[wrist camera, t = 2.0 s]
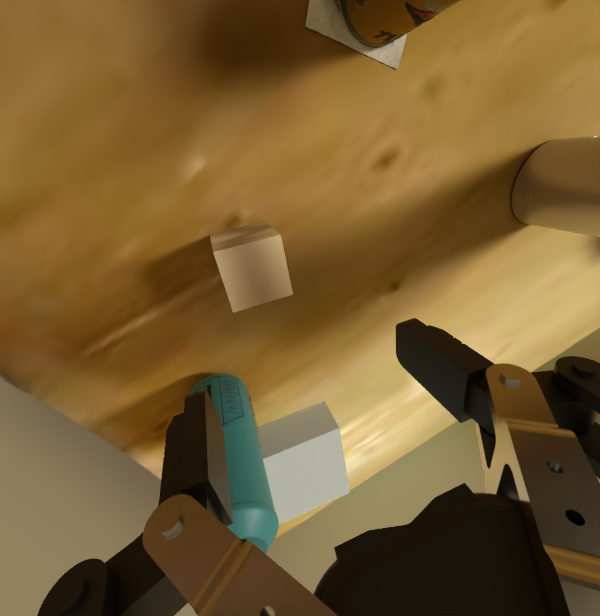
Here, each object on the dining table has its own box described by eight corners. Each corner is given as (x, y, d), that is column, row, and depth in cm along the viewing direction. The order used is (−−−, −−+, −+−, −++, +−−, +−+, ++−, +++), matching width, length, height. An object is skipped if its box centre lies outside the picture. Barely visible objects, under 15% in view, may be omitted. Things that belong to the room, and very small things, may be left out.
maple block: (264, 221, 26) (280, 234, 21) (275, 271, 29) (293, 294, 24) (209, 234, 26) (213, 252, 20) (226, 285, 28) (233, 312, 23)
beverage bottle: (209, 353, 30) (226, 595, 13) (258, 377, 34) (324, 595, 17) (173, 398, 31) (147, 677, 14) (225, 417, 35) (254, 662, 18)
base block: (323, 399, 39) (339, 427, 35) (335, 461, 46) (349, 492, 42) (220, 438, 36) (224, 475, 32) (249, 499, 43) (255, 535, 39)
